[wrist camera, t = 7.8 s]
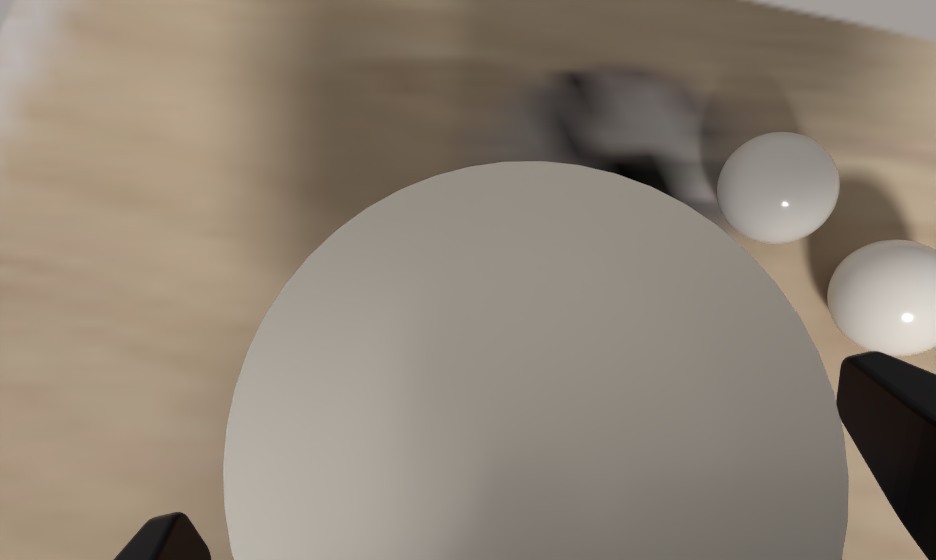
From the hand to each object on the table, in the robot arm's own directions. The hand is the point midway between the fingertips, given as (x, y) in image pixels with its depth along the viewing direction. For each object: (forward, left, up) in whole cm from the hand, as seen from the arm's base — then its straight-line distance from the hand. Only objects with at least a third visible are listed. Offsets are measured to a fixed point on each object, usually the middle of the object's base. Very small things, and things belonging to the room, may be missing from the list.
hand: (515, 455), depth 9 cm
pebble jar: (0, 0, -9) cm, 9 cm away
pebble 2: (-5, -9, -10) cm, 14 cm away
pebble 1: (-1, -10, -10) cm, 14 cm away
